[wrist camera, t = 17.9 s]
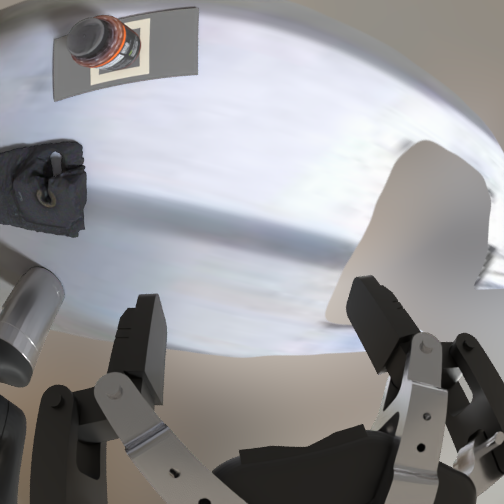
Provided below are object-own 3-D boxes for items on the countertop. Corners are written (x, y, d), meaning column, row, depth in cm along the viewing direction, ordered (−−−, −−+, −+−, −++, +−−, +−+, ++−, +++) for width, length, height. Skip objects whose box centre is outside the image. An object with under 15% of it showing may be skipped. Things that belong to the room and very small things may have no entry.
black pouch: (-12, 141, 25) (-30, 148, 21) (92, 141, 31) (78, 148, 27) (-6, 223, 32) (-20, 236, 28) (89, 238, 38) (79, 254, 34)
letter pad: (56, 101, 26) (54, 101, 25) (56, 40, 21) (54, 39, 20) (197, 74, 28) (197, 74, 28) (198, 9, 23) (198, 7, 23)
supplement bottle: (97, 37, 22) (56, 21, 13) (141, 24, 23) (114, -2, 13) (100, 77, 25) (58, 74, 16) (144, 65, 26) (115, 53, 16)
